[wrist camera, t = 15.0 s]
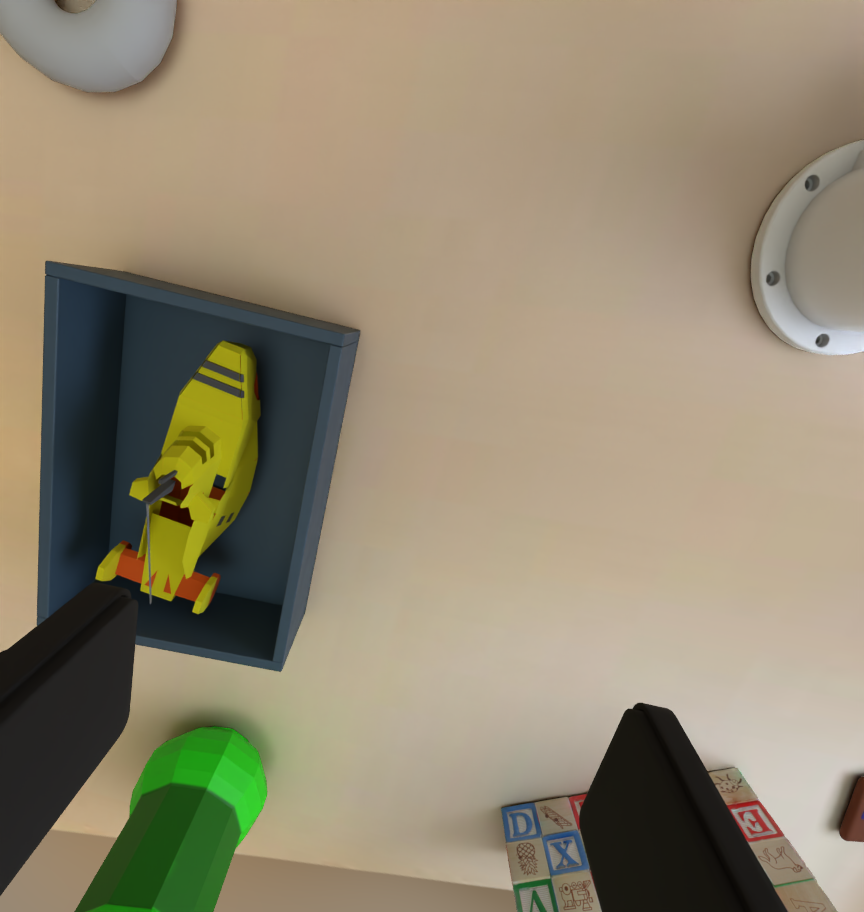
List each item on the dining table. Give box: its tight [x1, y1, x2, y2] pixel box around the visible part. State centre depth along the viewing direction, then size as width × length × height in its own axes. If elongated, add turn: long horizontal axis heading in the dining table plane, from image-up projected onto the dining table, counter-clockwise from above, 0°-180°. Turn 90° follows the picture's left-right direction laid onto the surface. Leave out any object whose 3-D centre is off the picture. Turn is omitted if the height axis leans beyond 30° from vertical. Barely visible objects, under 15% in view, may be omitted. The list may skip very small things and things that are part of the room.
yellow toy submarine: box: [95, 341, 261, 614], centre depth 29 cm, size 6×18×10 cm, turn 157°
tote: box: [37, 261, 360, 672], centre depth 31 cm, size 22×15×7 cm
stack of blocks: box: [501, 768, 838, 912], centre depth 39 cm, size 21×6×12 cm, turn 101°
